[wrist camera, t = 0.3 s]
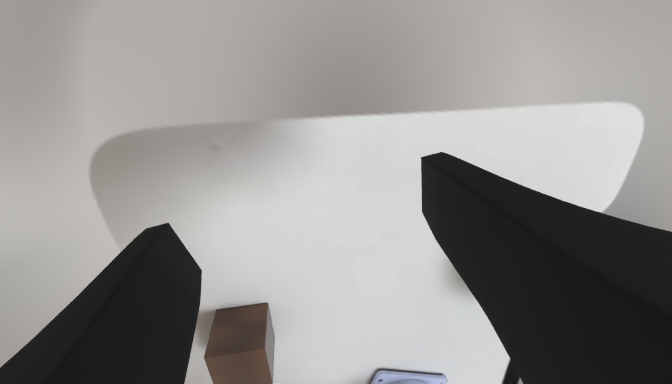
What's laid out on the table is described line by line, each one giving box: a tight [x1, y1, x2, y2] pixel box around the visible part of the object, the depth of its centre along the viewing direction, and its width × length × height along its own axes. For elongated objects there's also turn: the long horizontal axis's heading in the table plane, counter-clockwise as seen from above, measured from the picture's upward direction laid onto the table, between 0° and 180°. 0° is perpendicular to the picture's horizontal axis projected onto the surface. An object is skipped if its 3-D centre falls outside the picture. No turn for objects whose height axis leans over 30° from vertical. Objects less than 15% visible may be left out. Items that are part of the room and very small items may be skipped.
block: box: [204, 303, 275, 384], centre depth 23 cm, size 4×4×4 cm
